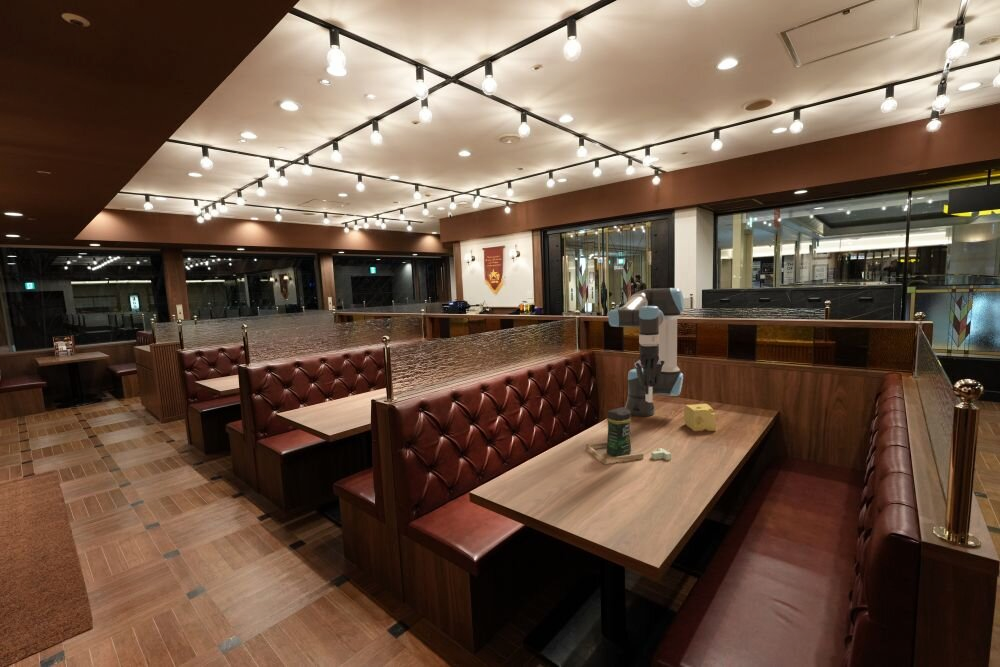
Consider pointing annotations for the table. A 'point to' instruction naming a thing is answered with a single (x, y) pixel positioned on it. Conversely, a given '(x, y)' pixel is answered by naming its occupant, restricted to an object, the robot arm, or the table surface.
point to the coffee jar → (619, 432)
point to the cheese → (700, 417)
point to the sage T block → (661, 454)
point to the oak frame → (612, 459)
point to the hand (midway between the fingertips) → (648, 401)
